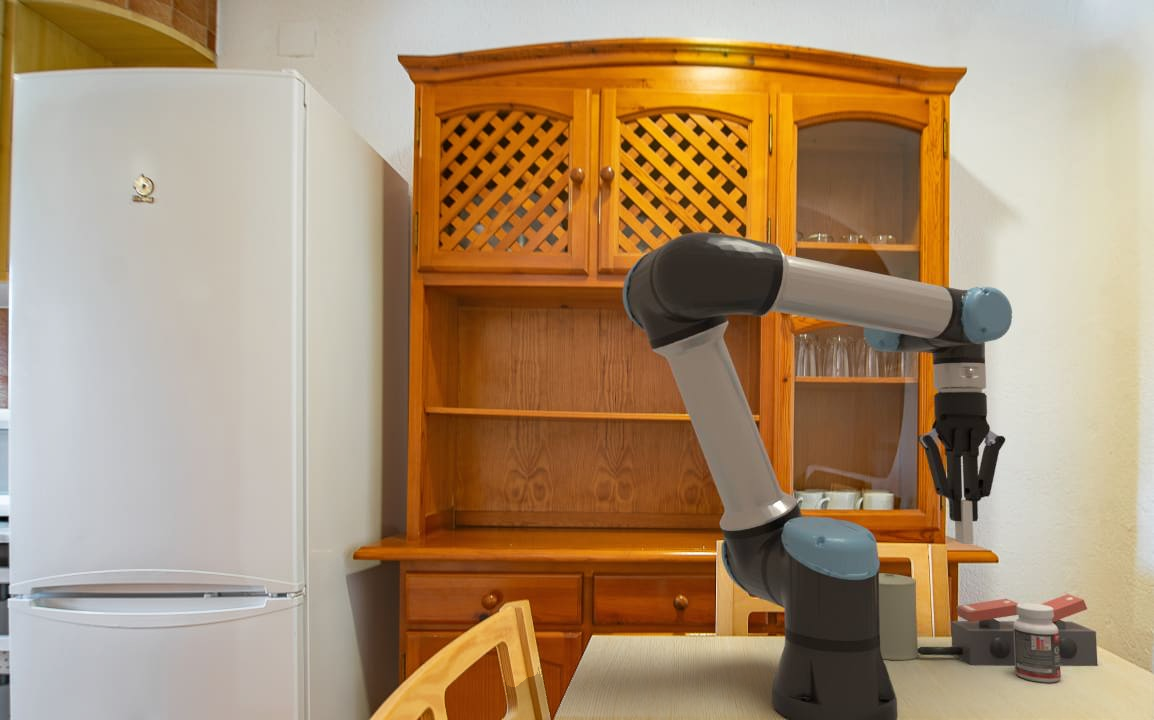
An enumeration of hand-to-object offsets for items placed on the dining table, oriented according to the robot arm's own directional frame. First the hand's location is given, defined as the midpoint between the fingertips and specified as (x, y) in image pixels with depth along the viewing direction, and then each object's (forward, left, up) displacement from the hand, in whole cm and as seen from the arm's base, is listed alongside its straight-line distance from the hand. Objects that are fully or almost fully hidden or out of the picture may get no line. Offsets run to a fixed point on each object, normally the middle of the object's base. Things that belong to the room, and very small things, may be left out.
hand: (964, 542), depth 124 cm
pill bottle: (+6, -9, -18) cm, 21 cm away
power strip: (+5, 0, -18) cm, 18 cm away
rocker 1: (+3, 0, -10) cm, 11 cm away
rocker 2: (+13, 0, -10) cm, 17 cm away
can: (-11, +4, -18) cm, 21 cm away
